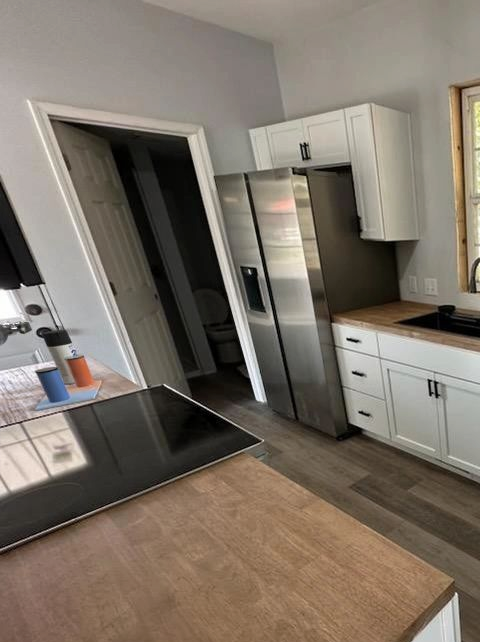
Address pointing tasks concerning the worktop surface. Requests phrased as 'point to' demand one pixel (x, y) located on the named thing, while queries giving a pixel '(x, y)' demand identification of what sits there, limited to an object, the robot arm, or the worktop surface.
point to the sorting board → (72, 396)
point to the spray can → (60, 351)
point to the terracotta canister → (79, 370)
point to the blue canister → (52, 384)
